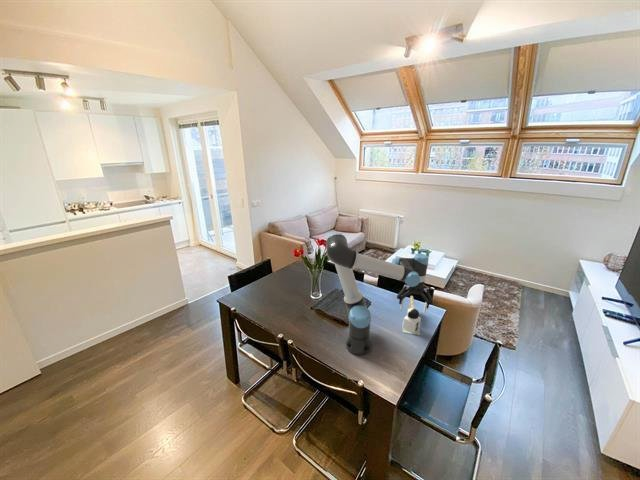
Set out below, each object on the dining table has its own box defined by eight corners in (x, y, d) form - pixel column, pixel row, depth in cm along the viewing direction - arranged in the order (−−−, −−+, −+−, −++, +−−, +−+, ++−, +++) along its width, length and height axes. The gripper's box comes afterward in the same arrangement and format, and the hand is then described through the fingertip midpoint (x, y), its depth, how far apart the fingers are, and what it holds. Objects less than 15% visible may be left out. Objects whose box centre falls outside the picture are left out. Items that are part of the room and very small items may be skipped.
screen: (407, 322, 171) (409, 307, 167) (407, 309, 184) (408, 295, 180) (414, 322, 170) (416, 308, 166) (413, 309, 183) (415, 296, 179)
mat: (402, 332, 162) (402, 332, 162) (402, 322, 171) (402, 321, 171) (420, 335, 160) (420, 334, 160) (418, 324, 169) (418, 324, 169)
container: (419, 327, 165) (422, 310, 161) (413, 334, 160) (416, 316, 155) (408, 322, 170) (410, 305, 166) (402, 328, 165) (404, 310, 161)
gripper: (395, 279, 152) (391, 310, 160) (442, 286, 146) (435, 317, 154) (395, 273, 159) (391, 303, 167) (440, 279, 153) (433, 310, 161)
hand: (412, 310), depth 160 cm, fingers open, 13 cm apart
